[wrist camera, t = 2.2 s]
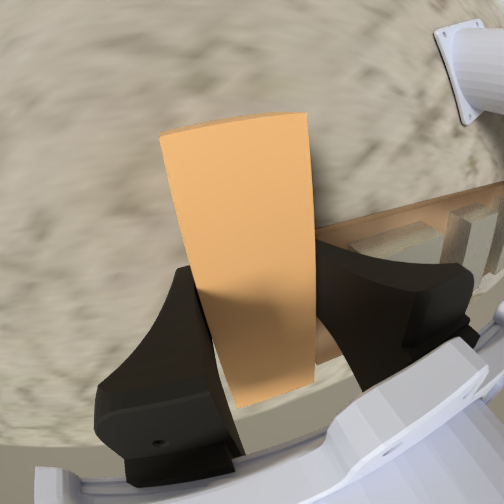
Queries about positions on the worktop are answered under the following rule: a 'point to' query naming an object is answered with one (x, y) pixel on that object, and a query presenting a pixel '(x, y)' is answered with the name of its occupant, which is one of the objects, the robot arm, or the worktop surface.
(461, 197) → the rail base
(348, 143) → the worktop surface
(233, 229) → the tan rectangular plank
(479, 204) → the rail
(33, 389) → the worktop surface
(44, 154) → the worktop surface
